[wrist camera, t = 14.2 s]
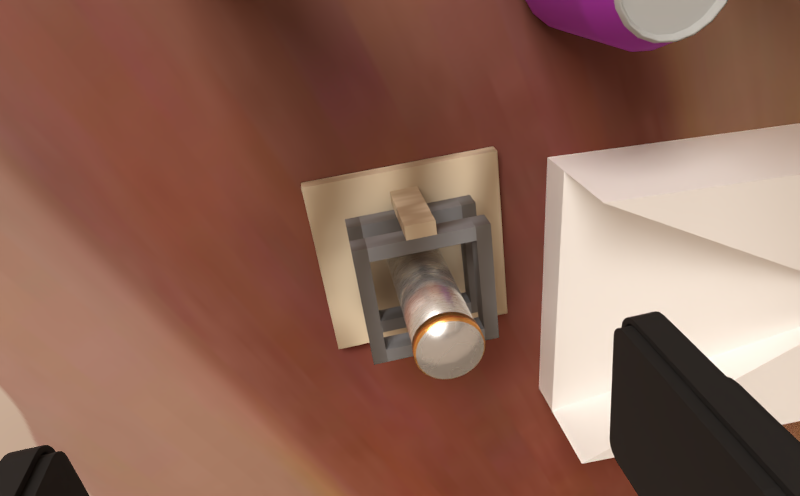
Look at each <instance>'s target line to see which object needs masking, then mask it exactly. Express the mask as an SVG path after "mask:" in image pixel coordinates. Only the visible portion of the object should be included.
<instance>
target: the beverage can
mask: <svg viewBox="0 0 800 496" xmlns="http://www.w3.org/2000/svg"><path fill="white" fill-rule="evenodd" d="M525 1H526V2H527V4H528V6H529V7H530V9H531V11H532V12H533V14H534V15H536V16H537V17H538V18H539V19H540V20H542V21H543V22H544V23H545V24H547V25H548V26H550V27H552V28H555V29H558V30H562V31H565V32H568V33H571V34H574V35H578V36H581V37H584V38H587V39H591V40H594V41H597V42H600V43H604V44H607V45H610V46H614V47H617V48H620V49H623V50H627V51H630V52H635V51H652V50H654V49H657V48H659V47H662V46H665V45H667V44H670V43H672V42H677V41H680V40H682V39H685V38H687V37H690V36H692V35H695V34H696V33H698V32H699V31H700V30H702V29H703V28H704V27H705V26H707V25H708V24H709V23H711V22H712V21H713V20H714V18H715V17H716V16H717V15H718V13H719V12H720V11H721V10H722V8H723V7H724V6H725V5H726V3H727V1H728V0H525Z"/></svg>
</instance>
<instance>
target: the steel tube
mask: <svg viewBox="0 0 800 496" xmlns="http://www.w3.org/2000/svg"><path fill="white" fill-rule="evenodd" d="M387 263H388V267H389V270H390V273H391V277H392V280H393V283H394V287H395V290H396V293H397V296H398V300H399V303H400V306H401V310H402V313H403V316H404V320H405V323H406V326H407V330H408V333H409V336H410V339H411V343H412V352H413V355H414V359H415V362H416V364H417V366H418V368H419V369H420V370H421V371H422V372H423V373H424V374H426V375H428V376H430V377H432V378H436V379H453V378H457V377H460V376H462V375H464V374H466V373H468V372H469V371H471V370H472V369H473V368H474V367H475V366H476V365H477V364H478V363H479V362H480V360H481V359H482V357H483V354H484V351H485V339H484V336H483V334H482V332H481V329H480V327H479V326H478V324H477V323H476V321H475V320H474V319H473V317H472V315H471V313H470V311H469V309H468V307H467V305H466V303H465V301H464V299H463V297H462V295H461V293H460V291H459V288H458V286H457V284H456V282H455V280H454V278H453V276H452V274H451V272H450V270H449V268H448V266H447V264H446V262H445V260H444V258H443V256H442V254H441V252H440V250H439V248H438V249H433V250H428V251H423V252H418V253H413V254H408V255H403V256H398V257H394V258H389V259H387Z"/></svg>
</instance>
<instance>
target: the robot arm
mask: <svg viewBox="0 0 800 496" xmlns="http://www.w3.org/2000/svg"><path fill="white" fill-rule="evenodd" d="M610 446H611V450H612V453H613V455H614V457H615V459H616V461H617V463H618V464H619V466H620V467H621V469H622V470H623V472H624V474H625V475H626V477H627V478H628V480H629V481H630V483H631V485H632V486H633V488H634V489H635V491H636V492H637V494H638V496H800V442H799V441H798V440H797V439H796V438H795V437H794V436H793V435H792V434H791V433H790V432H788V431H787V430H786V429H785V428H784V427H783V426H782V425H781V424H780V423H779V422H778V421H777V420H776V419H775V418H774V417H773V416H772V415H771V414H770V413H769V412H768V411H767V410H766V409H765V408H764V407H763V406H762V405H761V404H760V403H759V402H758V401H756V400H755V399H754V398H753V397H752V396H751V395H750V394H749V393H748V392H747V391H746V390H745V389H744V388H743V387H742V386H741V385H740V384H739V383H737V382H736V381H735V380H733V379H732V378H730V377H727V376H726V375H725V374H724V373H723V372H722V371H721V370H720V369H718V368H717V367H716V366H715V365H714V364H713V363H712V362H711V361H710V360H709V359H708V358H707V357H706V356H705V355H704V354H703V353H702V352H701V351H700V350H699V349H698V348H697V347H696V346H695V345H694V344H693V343H692V342H691V341H690V340H689V339H688V338H687V337H686V336H685V335H684V334H683V333H682V332H681V331H680V330H679V329H678V328H677V327H676V326H675V325H674V324H673V323H672V322H671V321H670V320H668V319H667V318H666V317H665V316H664V315H663V314H662V313H660V312H657V311H655V312H650V313H645V314H641V315H636V316H632V317H627V318H625V319H624V320H623V322H622V327H621V328H617V329H615V331H614V338H613V363H612V388H611V413H610ZM0 496H89V494H88V493H87V491H86V489H85V487H84V486H83V484H82V482H81V480H80V478H79V477H78V475H77V473H76V471H75V470H74V468H73V466H72V464H71V462H70V461H69V459H68V457H67V456H66V454H65V453H63V452H62V451H58V452H55V450H54V449H53V448H52V447H50V446H49V445H43V446H38V447H34V448H29V449H25V450H20V451H16V452H11V453H8V454H7V455H5V456H4V457H3V458H2V460H1V461H0Z"/></svg>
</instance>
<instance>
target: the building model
mask: <svg viewBox="0 0 800 496" xmlns="http://www.w3.org/2000/svg"><path fill="white" fill-rule="evenodd" d="M655 311H657V312H660V313H662V314H663V315H664V316H665V317H666V318H667V319H668V320H670V321H671V322H672V323H673V324H674V325H675V326H676V327H677V328H678V329H679V330H680V331H681V332H682V333H683V334H684V335H685V336H686V337H687V338H688V339H689V340H690V341H691V342H692V343H693V344H694V345H695V346H696V347H697V348H698V349H699V350H700V351H701V352H702V353H703V354H704V355H705V356H706V357H707V358H708V359H709V360H710V361H711V362H712V363H713V364H714V365H715V366H716V367H717V368H718V369H720V370H721V371H722V372H723V373H724V374H725V375H726V376H727V377H730V378H732V379H733V380H735V381H736V382H737V383H739V384H740V385H741V386H742V387H743V388H744V389H745V390H746V391H747V392H748V393H749V394H750V395H751V396H752V397H753V398H754V399H755V400H756V401H758V402H759V403H760V404H761V405H762V406H763V407H764V408H765V409H766V410H767V411H768V412H769V413H770V414H771V415H772V416H773V417H774V418H775V419H776V420H777V421H778V422H779V423H780V424H781V425H782V424H788V423H793V422H798V421H800V123H798V124H791V125H783V126H776V127H768V128H761V129H754V130H746V131H739V132H731V133H724V134H717V135H709V136H702V137H694V138H687V139H680V140H672V141H665V142H658V143H650V144H643V145H635V146H628V147H621V148H613V149H606V150H598V151H591V152H584V153H576V154H569V155H561V156H554V157H547V183H546V210H545V237H544V264H543V290H542V317H541V344H540V371H539V389H540V391H541V393H542V394H543V396H544V398H545V400H546V401H547V403H548V405H549V407H550V408H551V410H552V412H553V414H554V415H555V417H556V419H557V421H558V423H559V424H560V426H561V428H562V430H563V431H564V433H565V435H566V437H567V438H568V440H569V442H570V444H571V445H572V447H573V449H574V451H575V453H576V454H577V456H578V458H579V460H580V461H581V463H582V464H583V463H588V462H593V461H598V460H604V459H609V458H614V455H613V453H612V450H611V446H610V413H611V388H612V363H613V338H614V331H615V329H617V328H621V327H622V322H623V320H624V319H625V318H627V317H632V316H636V315H641V314H645V313H650V312H655Z"/></svg>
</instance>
